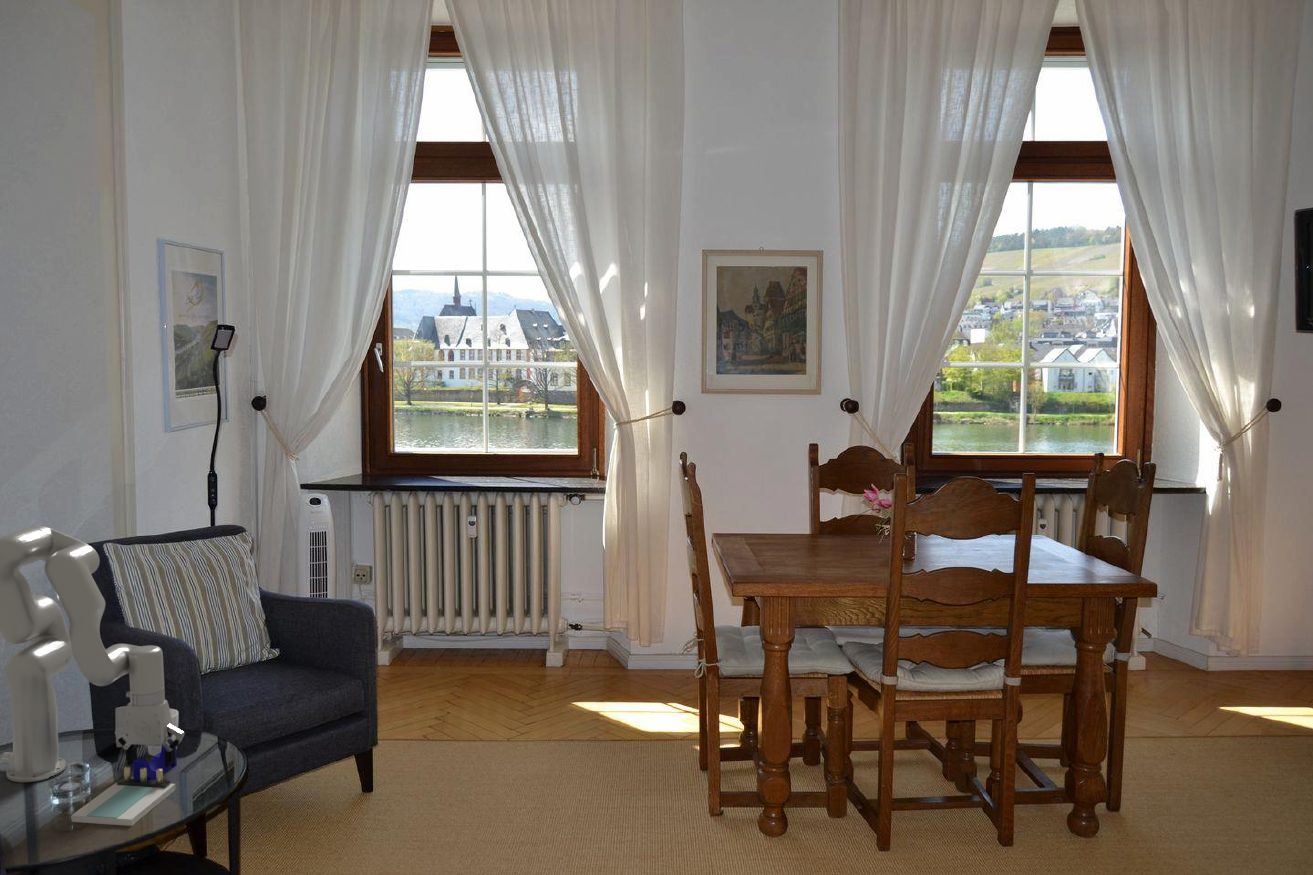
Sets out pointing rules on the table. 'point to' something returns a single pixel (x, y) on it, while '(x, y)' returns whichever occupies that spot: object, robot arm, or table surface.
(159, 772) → the coat peg rack
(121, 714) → the grey box
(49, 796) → the table surface
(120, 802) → the board
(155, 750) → the white cup
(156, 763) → the blue curved stepped piece
